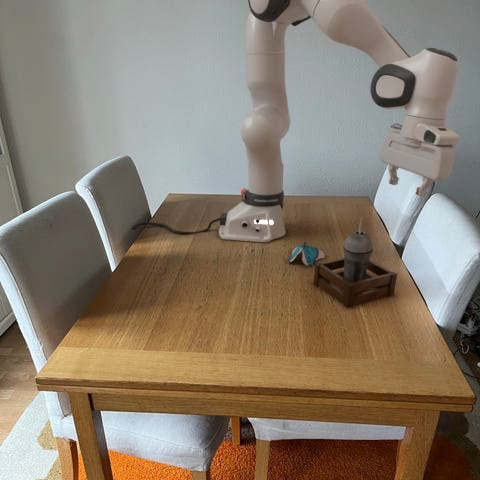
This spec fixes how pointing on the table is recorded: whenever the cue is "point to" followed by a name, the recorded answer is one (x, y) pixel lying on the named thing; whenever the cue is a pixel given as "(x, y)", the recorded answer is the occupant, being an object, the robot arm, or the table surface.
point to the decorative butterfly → (307, 254)
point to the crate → (381, 282)
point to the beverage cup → (357, 255)
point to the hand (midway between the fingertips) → (405, 189)
